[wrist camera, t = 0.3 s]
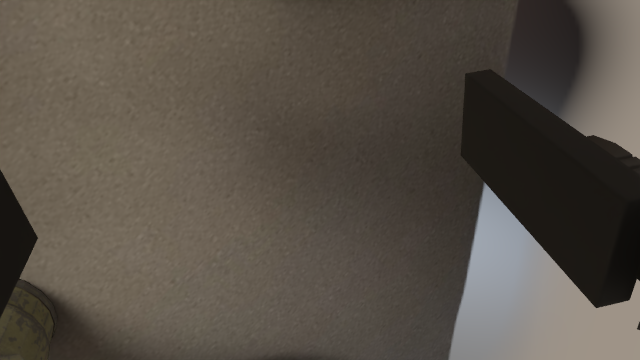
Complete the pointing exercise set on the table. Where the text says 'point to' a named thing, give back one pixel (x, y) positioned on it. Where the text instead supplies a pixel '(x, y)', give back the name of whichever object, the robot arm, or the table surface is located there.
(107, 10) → the table surface
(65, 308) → the table surface
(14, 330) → the thermos
